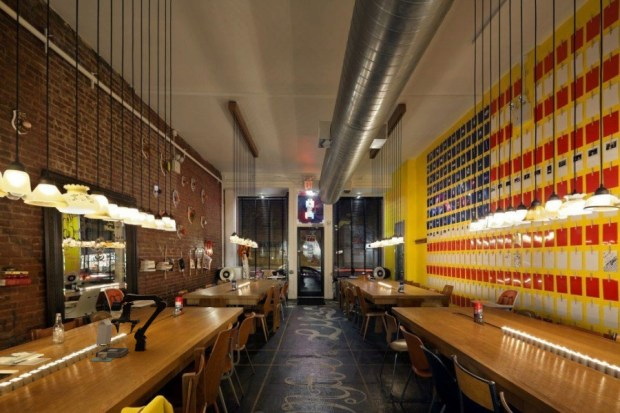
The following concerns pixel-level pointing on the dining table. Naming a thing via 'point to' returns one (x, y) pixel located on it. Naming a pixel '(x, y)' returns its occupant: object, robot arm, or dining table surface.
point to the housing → (113, 352)
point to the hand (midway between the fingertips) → (124, 333)
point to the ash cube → (102, 356)
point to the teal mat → (102, 360)
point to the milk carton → (104, 332)
